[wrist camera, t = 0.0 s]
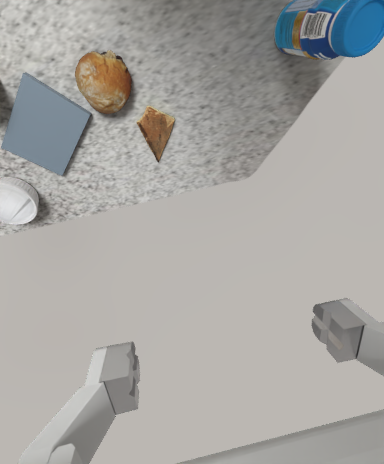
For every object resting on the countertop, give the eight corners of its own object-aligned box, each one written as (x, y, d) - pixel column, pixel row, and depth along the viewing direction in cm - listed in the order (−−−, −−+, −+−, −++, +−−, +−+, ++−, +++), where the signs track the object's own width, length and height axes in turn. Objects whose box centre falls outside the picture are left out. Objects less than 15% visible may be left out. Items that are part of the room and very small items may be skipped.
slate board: (25, 72, 43) (23, 73, 42) (91, 112, 49) (90, 114, 48) (4, 145, 50) (1, 147, 49) (63, 172, 56) (62, 175, 55)
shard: (157, 159, 59) (158, 162, 58) (127, 148, 56) (127, 151, 54) (175, 117, 53) (176, 119, 52) (143, 101, 50) (143, 103, 49)
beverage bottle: (300, -16, 42) (391, -42, 27) (320, 26, 47) (408, 24, 32) (264, 29, 46) (327, 28, 31) (286, 65, 50) (350, 79, 35)
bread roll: (76, 66, 47) (55, 84, 42) (107, 30, 41) (87, 47, 37) (114, 109, 53) (100, 129, 48) (146, 83, 47) (133, 103, 43)
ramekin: (44, 215, 63) (38, 227, 59) (-7, 208, 59) (-17, 221, 55) (42, 178, 56) (35, 189, 52) (-16, 167, 53) (-28, 178, 49)
